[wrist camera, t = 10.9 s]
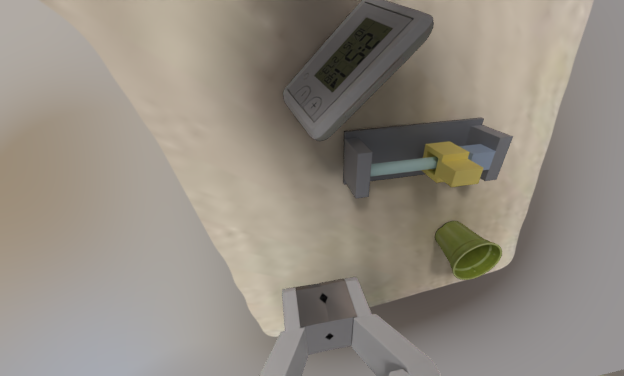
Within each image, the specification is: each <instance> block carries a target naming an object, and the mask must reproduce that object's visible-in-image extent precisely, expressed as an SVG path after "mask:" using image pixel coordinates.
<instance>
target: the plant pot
mask: <svg viewBox="0 0 624 376" xmlns="http://www.w3.org/2000/svg"><path fill="white" fill-rule="evenodd" d="M435 239H436V241H437V243H438V244H439V246H440V247H441V249H442V251H443V252H444V254H445V255H446V257H447V259H448V261H449V262H450V265H451V268H452V271H453V274H454V276H455V277H456V278H458V279H462V280H468V279H473V278H477V277H479V276H481V275H483V274H485V273H486V272H488V271H490V270H491V269H492V268H493V267H494V266H495V265H496V264H497V263H498V262H499V260H500V258H501V256H502V249H501V247H500V246H499V245H497V244H495V243H492V242H489V241H488V240H485V239H483V238H482V237H480V236H479V235H477V234H476V233H474V232H473V231H471V230H470V229H468V228H467V227H466V226H464V225H463V224H461V223H460V222H457V221H452V222H448V223H446V224H444V226H443V227H442V228H440V229H438V231H437V232H436V235H435Z"/></svg>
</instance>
